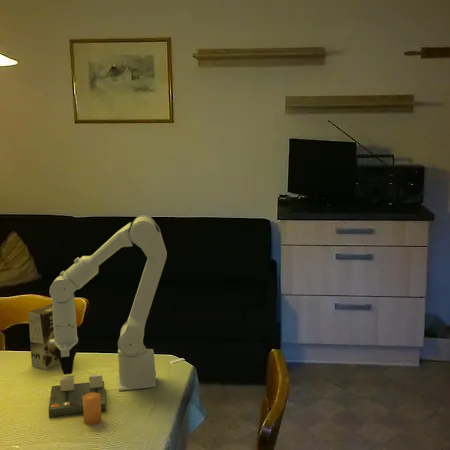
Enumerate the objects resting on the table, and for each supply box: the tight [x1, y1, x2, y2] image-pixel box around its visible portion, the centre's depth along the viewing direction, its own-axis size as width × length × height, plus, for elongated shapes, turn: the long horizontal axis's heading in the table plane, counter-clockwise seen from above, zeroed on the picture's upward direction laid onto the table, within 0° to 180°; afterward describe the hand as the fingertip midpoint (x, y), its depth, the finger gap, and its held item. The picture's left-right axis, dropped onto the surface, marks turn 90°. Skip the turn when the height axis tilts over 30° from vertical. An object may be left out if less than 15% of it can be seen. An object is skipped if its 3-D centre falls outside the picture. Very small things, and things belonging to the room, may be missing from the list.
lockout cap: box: [82, 393, 103, 426], centre depth 140 cm, size 4×4×6 cm
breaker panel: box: [47, 380, 107, 419], centre depth 150 cm, size 13×13×2 cm
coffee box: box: [28, 303, 61, 371], centre depth 173 cm, size 9×6×16 cm
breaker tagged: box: [59, 375, 75, 391], centre depth 152 cm, size 3×2×3 cm, turn 102°
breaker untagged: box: [88, 372, 104, 388], centre depth 154 cm, size 3×2×3 cm, turn 102°
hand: (67, 373), depth 158 cm, fingers closed
